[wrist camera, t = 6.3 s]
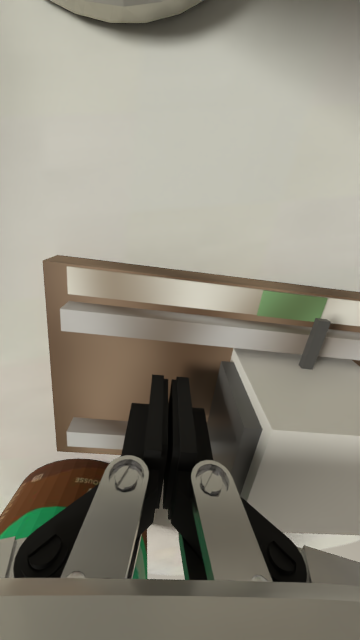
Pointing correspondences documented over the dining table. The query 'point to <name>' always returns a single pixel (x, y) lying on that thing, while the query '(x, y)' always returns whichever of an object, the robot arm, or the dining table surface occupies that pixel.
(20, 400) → the dining table surface
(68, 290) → the gauge board
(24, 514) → the food container
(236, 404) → the gauge carriage
